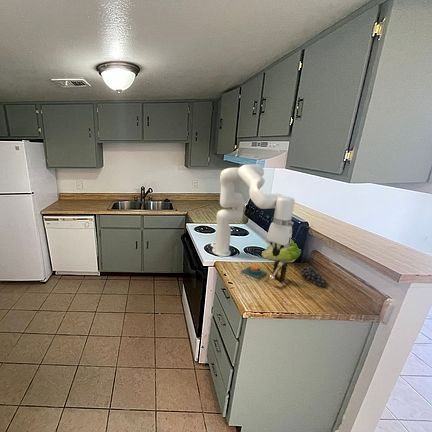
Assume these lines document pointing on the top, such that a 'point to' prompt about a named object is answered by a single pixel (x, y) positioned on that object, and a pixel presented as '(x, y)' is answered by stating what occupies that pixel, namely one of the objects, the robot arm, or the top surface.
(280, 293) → the top surface
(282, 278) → the bracket
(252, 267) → the button
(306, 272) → the fruit
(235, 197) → the robot arm
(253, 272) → the control block
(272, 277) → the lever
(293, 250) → the lettuce
